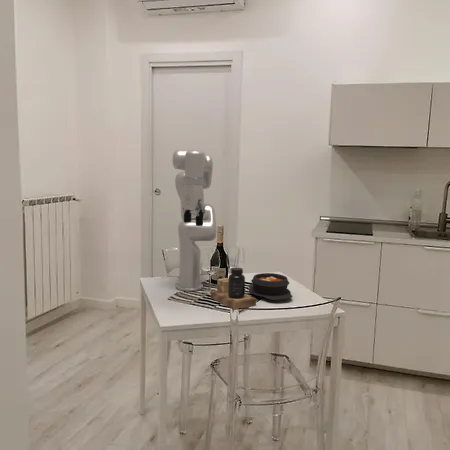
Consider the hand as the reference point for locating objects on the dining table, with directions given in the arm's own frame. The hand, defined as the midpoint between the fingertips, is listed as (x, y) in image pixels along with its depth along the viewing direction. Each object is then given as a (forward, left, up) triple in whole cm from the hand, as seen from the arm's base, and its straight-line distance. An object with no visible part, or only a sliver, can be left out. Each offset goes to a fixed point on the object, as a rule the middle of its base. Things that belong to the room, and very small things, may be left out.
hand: (193, 224), depth 191 cm
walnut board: (+7, +16, -33) cm, 38 cm away
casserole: (+7, +36, -34) cm, 50 cm away
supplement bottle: (+10, +15, -30) cm, 36 cm away
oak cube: (+1, +16, -30) cm, 34 cm away
